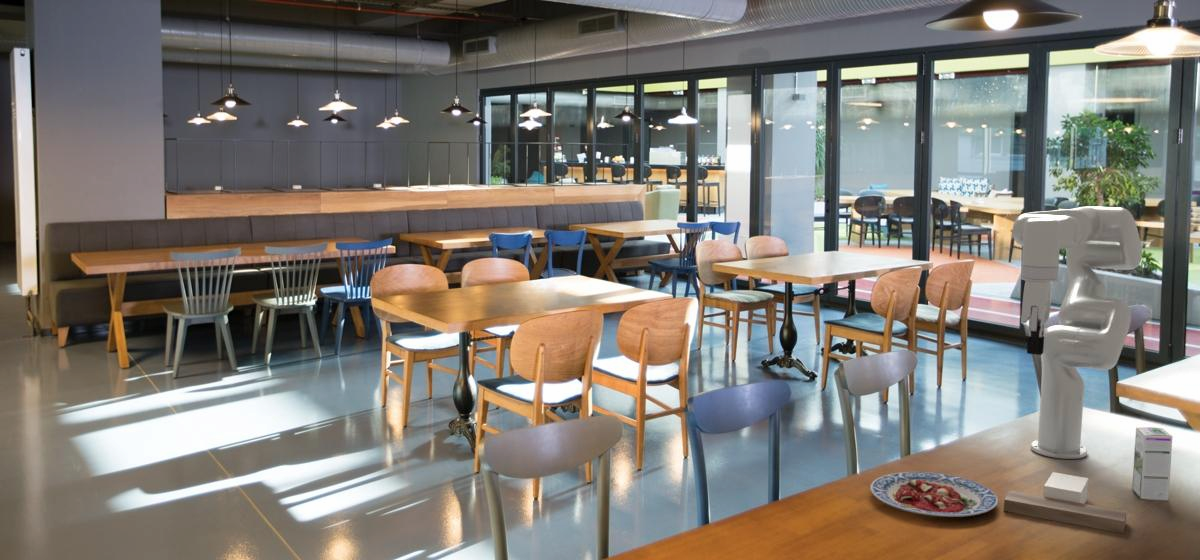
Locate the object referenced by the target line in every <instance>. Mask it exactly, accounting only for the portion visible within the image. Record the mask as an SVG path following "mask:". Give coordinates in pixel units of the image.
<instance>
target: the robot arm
mask: <svg viewBox="0 0 1200 560" xmlns="http://www.w3.org/2000/svg"><path fill="white" fill-rule="evenodd" d="M1138 230H1139V229H1138V226H1137V223H1136V221H1135V218H1134V216H1133V214H1132V213H1131V211H1130V210H1128V209H1126V208H1125V207H1120V206H1119V207H1117V206H1116V207H1115V206H1091V205H1090V206H1089V205H1088V206H1079V207H1074V208H1070V209H1069V208H1068V209H1055V210H1046V211H1045V210H1044V211H1043V210H1042V211H1032V212H1025V213H1022V214H1020V215H1019V216H1018V217H1017V218H1016V219H1015V221H1014V223H1013V225H1012V237H1013V239H1014V241H1015V243H1016V244H1017V245H1019V246H1021V247H1022V253H1021V255H1022V256H1021V271H1020V272H1021V274H1020V279H1021V280H1023V281H1024V282H1025V283H1024V288H1023V295H1022V305H1021V307H1022V308H1021V316H1020V317H1021V319H1020V323H1021V324H1022V325H1025V324H1026V323H1027V322H1028V336H1027V342H1026V343H1027V344H1026V345H1027V346H1026V353H1027V355H1028V354H1030V355H1037V356H1038V355H1039V356H1040V361H1041V382H1040V383H1041V385H1040V400H1039V401H1040V402H1039V417H1038V418H1039V419H1038V420H1039V421H1038V433H1037V434H1038V435H1037V439H1036V440H1033V441H1032V442H1031V443H1030V449H1031V450H1032V451H1033V452H1034V453H1036V454H1038V455H1042V456H1045V457H1049V458H1054V459H1061V460H1063V459H1064V460H1077V459H1082V458H1084V457H1086V456H1087V455H1088V450H1087V448H1086V447H1085V446H1083V445H1081V440H1082V439H1081V437H1082V425H1083V423H1082V422H1083V413H1084V412H1083V411H1084V410H1083V409H1084V394H1085V382H1084V379H1083V377H1082V375H1081V373H1080V372H1079V371H1078V369H1077V368H1085V369H1092V370H1098V371H1099V370H1100V371H1108V370H1109V371H1110V370H1112V369H1113V368H1114V367H1115V366H1116V365H1117V364H1118V361H1119V358H1120V356H1121V353H1122V350H1123V348H1124V345H1125V342H1126V338H1127V336H1128V333H1129V331H1130V326H1131V321H1132V313H1131V308H1130V305H1129V304H1128V303H1127V302H1126V301H1125V300H1122V299H1119V298H1113V297H1106V295H1107V287H1106V284H1105V283H1104V281H1103V279H1102V278H1101V277H1100V276H1099V275H1098V274H1097V273H1096V271H1094V270H1093V268H1095V269H1107V270H1118V271H1119V270H1121V271H1130V270H1134V269H1136V268H1137V267H1138V266H1139V265H1140V263H1141V262H1142V261H1141V260H1142V257H1143V247H1142V242H1141V238H1140V235H1139V231H1138ZM1061 249H1062V250H1064V249H1065V257H1066V261H1065V263H1066V269H1067V270H1066V271H1067V274H1068V278H1069V279H1068V280H1069V285H1068V288H1067V291H1066V293H1065V296H1064V298H1063V300H1062V302H1061V305H1060V308H1059V310H1058V316H1057V322H1058V325H1056V324H1055V325H1050V326H1048V327H1046V328H1045V325H1046V323H1048V321H1049V319H1050V313H1051V307H1052V306H1051V305H1052V304H1051V303H1052V291H1053V290H1052V287H1053V283H1055V282H1058V281H1059V265H1060V250H1061Z"/></svg>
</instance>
